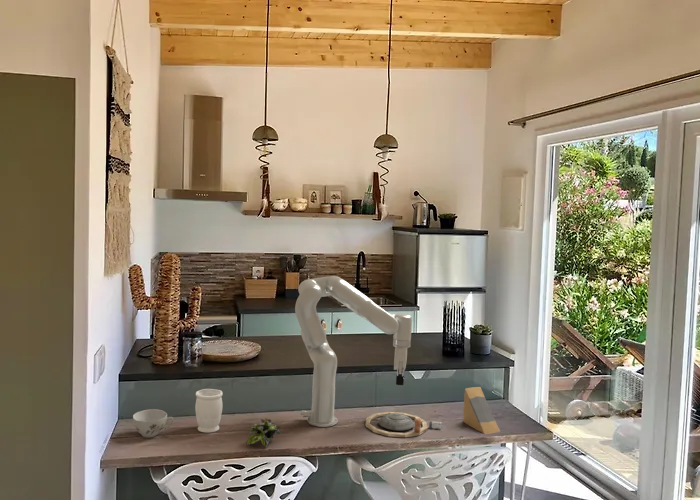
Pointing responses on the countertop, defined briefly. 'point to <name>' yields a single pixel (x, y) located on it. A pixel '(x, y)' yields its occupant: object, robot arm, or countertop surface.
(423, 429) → the turntable ring
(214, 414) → the jar
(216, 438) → the countertop surface
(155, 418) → the teacup
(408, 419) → the flying saucer
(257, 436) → the green leafy cluster
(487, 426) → the sandwich container
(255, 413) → the countertop surface
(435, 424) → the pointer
